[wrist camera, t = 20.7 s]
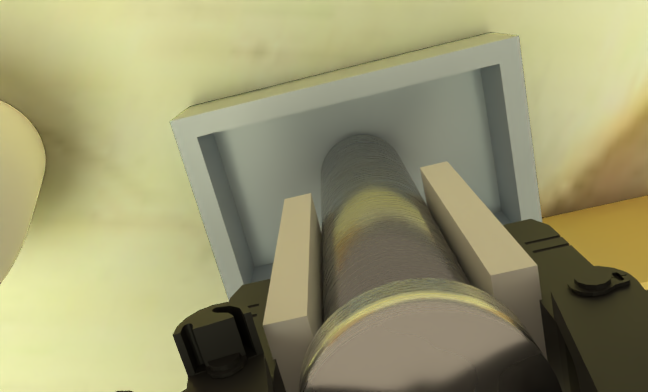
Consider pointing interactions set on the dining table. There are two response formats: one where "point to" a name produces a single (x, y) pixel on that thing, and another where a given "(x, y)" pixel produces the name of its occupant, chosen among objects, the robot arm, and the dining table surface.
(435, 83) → the tray
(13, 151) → the mug
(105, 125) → the dining table surface
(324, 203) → the flashlight
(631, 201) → the block
